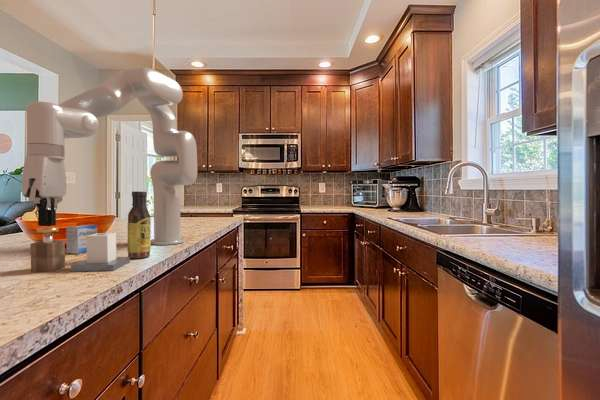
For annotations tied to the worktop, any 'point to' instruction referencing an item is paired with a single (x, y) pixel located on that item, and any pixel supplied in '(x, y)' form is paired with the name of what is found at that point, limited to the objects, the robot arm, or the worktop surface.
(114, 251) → the block
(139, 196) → the sauce bottle
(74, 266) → the plate
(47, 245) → the brown block
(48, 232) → the press pin
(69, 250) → the medicine box
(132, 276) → the worktop surface
